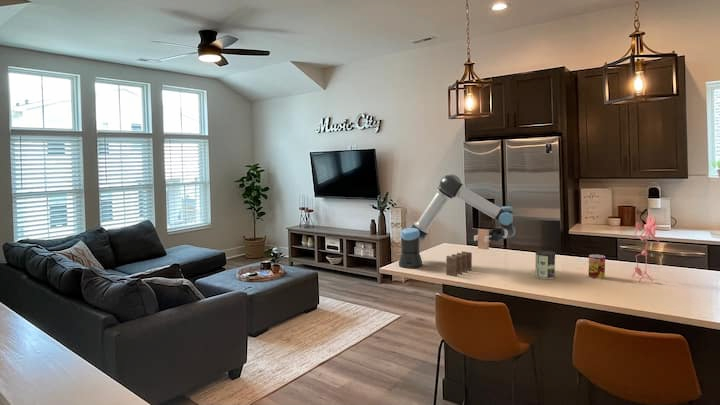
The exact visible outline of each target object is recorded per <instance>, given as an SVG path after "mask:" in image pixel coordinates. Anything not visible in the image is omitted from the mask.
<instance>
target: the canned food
mask: <svg viewBox="0 0 720 405" xmlns="http://www.w3.org/2000/svg"><path fill="white" fill-rule="evenodd" d="M605 270H606V256H605V255H602V254H589V255H588V277H589V278H590V277H591V278H592V279H595V278H598V280H600V279H599V278H604V279H605V276H606V274H605V273H606V271H605ZM591 278H590V279H591Z"/></svg>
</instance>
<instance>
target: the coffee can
mask: <svg viewBox="0 0 720 405" xmlns="http://www.w3.org/2000/svg"><path fill="white" fill-rule="evenodd" d="M534 272H535V274H534V276H535V278H537V279H542V280H554V279H556V277H555V276H556V275H555V274H556V252H554V251H551V250H536V251H535V271H534Z"/></svg>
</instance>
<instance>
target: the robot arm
mask: <svg viewBox="0 0 720 405" xmlns="http://www.w3.org/2000/svg"><path fill="white" fill-rule="evenodd" d="M436 191H437V192H436V194H435V195H434V197H433V198H432V200H431V201H430V202H429V204H428V206H427V207H426V208H425V210H424V212H423V213H422V214H421V216H420V217H419V219H417V221H415V222H413V224H412V225H411V226H410V227H407V228H403V229H402V230H401V232H400V239H401V240H400V243H401V244H400V246H401V248H400V252H401V253H400V257H399V259H398V260H399V261H398V266H399V267H401V268H405V269H416V268H421V267H423V259H422V257H421V254H420V247H421V246H420V245H421V244H423V242H424V241H425V240H426V238H427V236H428V234H430V231H429V228H430V227H431V226H432V224H433V223H434V221H435V220H436V219H437V217H438V216H439V214H440V213H441V211H442V209H443V208H444V207H445V205H446V204H447V203H448V201H449V200H452V199H453V198H454V199H457V198H458V199H460V200H461V201H463V202H464V203H467V204H468V205H470V206H472V207H473V208H475V209H477V210H478V211H480V212H481V213H483V214H485V215H487V216H489V217H491V218H492V219H494V220H495V221H497V222H499V227H496V228H492V230H490V231H489V236H487V237H485V242H488V241H489V242H491V241H497V242H499V241H503V240H505V239H511V237H512V238H513V237H514V235H515V234H516V228H515V227H514V220H513V219H514V208H513V206H501V207H500V206H498V205H496V204H494V203H493V202H491V201H489V200H488V199H486V198H484V197H482V196H481V195H479V194H477V193H476V192H474V191H473V190H470V189H468V188H467V187H465V185H464V184H463V183H462V181H461V179H460V178H459V176H457V175H455V174H447V175H444V176H443V177H441V179H440V180H439V185H438V186H437V188H436ZM473 241H474V242H476V241H478V233H476V234H475V235H473Z"/></svg>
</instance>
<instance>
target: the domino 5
mask: <svg viewBox="0 0 720 405" xmlns="http://www.w3.org/2000/svg"><path fill="white" fill-rule="evenodd" d="M489 232H490V229H481V228H477V234H478V240H477V249H481V250H489V249H490V241H488V242H485V237H487V236H489Z"/></svg>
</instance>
